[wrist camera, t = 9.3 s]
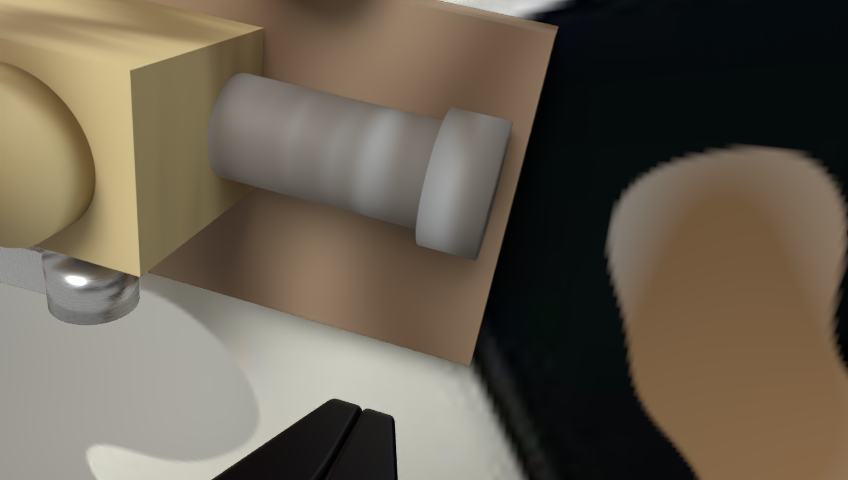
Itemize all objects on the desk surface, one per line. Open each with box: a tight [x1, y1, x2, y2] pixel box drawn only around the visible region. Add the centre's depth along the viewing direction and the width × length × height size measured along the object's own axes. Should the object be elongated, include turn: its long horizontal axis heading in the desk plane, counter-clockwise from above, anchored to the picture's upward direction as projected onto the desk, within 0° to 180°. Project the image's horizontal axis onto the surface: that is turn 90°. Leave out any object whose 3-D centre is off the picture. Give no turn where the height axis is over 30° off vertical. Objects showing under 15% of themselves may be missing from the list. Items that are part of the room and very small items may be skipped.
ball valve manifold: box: [0, 0, 559, 366], centre depth 18 cm, size 16×11×8 cm
